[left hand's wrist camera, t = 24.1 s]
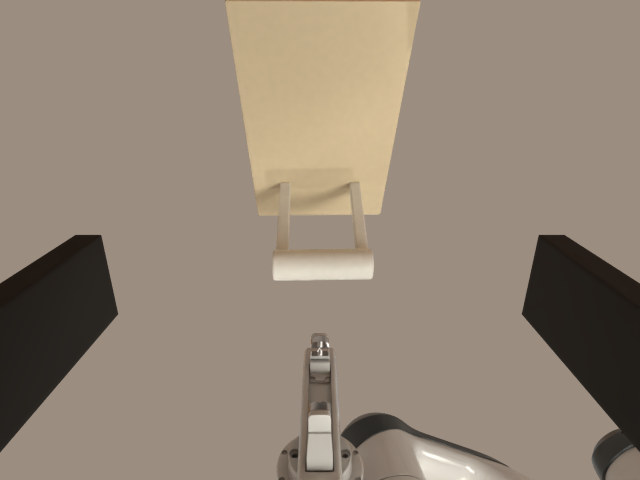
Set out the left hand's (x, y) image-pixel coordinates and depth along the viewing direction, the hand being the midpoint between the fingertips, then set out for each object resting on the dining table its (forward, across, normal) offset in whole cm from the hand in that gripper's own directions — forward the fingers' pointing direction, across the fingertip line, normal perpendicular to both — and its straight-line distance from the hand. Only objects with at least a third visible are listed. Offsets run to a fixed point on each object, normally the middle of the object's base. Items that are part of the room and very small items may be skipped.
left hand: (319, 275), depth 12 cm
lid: (+15, 0, -3) cm, 15 cm away
